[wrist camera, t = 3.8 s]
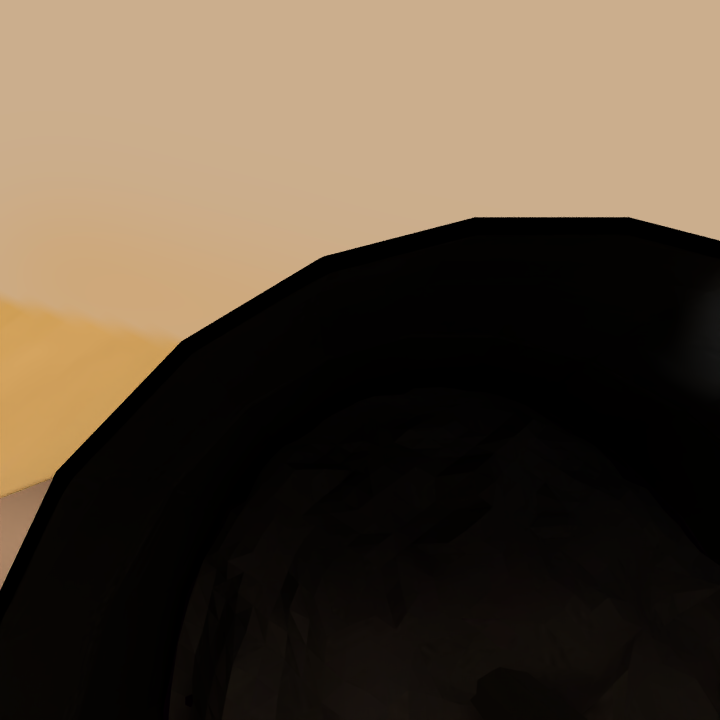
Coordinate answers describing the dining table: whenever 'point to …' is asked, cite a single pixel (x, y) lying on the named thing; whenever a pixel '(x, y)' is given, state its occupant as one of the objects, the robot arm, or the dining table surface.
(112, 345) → the dining table surface
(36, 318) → the dining table surface
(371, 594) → the beverage cup
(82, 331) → the dining table surface
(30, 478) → the dining table surface
